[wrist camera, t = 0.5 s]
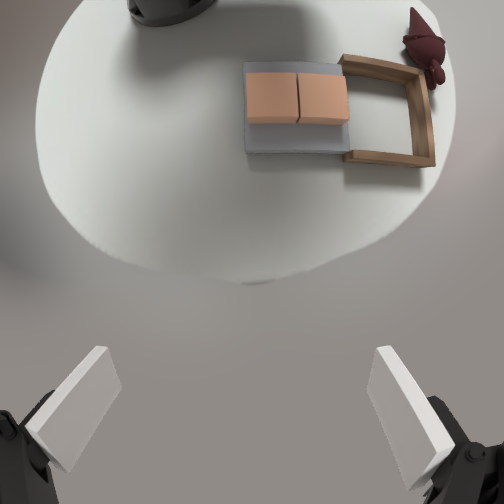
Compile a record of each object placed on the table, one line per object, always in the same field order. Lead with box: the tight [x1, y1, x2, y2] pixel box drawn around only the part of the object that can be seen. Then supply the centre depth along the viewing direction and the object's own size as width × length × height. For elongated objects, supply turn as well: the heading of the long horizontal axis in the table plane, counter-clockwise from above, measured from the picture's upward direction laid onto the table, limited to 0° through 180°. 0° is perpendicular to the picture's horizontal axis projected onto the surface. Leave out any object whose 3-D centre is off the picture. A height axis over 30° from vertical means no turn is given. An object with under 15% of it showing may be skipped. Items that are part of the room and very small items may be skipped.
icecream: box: [402, 7, 445, 90], centre depth 25 cm, size 7×7×15 cm
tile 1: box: [246, 73, 299, 124], centre depth 28 cm, size 6×6×3 cm
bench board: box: [243, 61, 349, 154], centre depth 31 cm, size 12×12×3 cm
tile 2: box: [296, 73, 350, 125], centre depth 28 cm, size 6×6×3 cm
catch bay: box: [337, 54, 436, 168], centre depth 30 cm, size 14×12×4 cm
